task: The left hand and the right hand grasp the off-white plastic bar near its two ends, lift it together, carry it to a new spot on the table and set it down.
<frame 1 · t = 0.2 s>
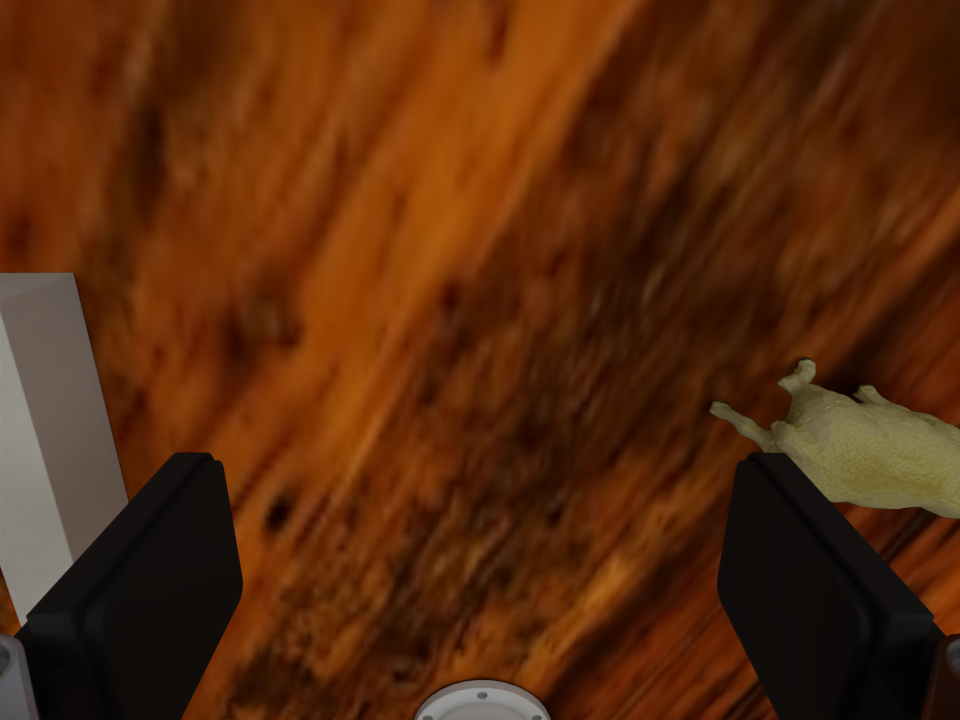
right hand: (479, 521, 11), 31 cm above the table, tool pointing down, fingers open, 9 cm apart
bar: (119, 589, 51), on the table
toy: (829, 409, 45), on the table
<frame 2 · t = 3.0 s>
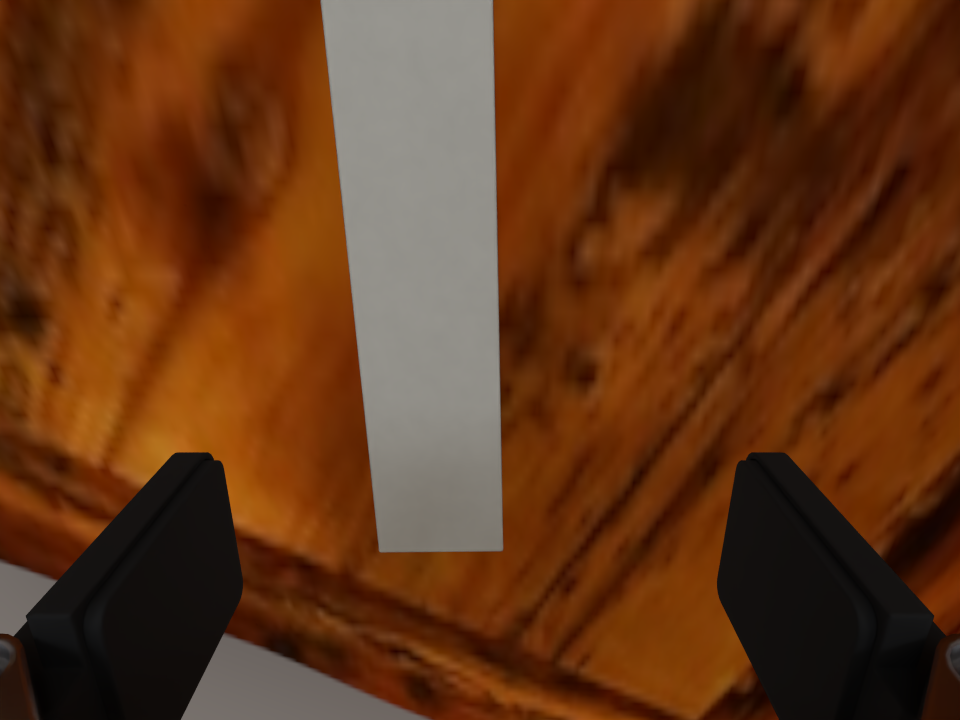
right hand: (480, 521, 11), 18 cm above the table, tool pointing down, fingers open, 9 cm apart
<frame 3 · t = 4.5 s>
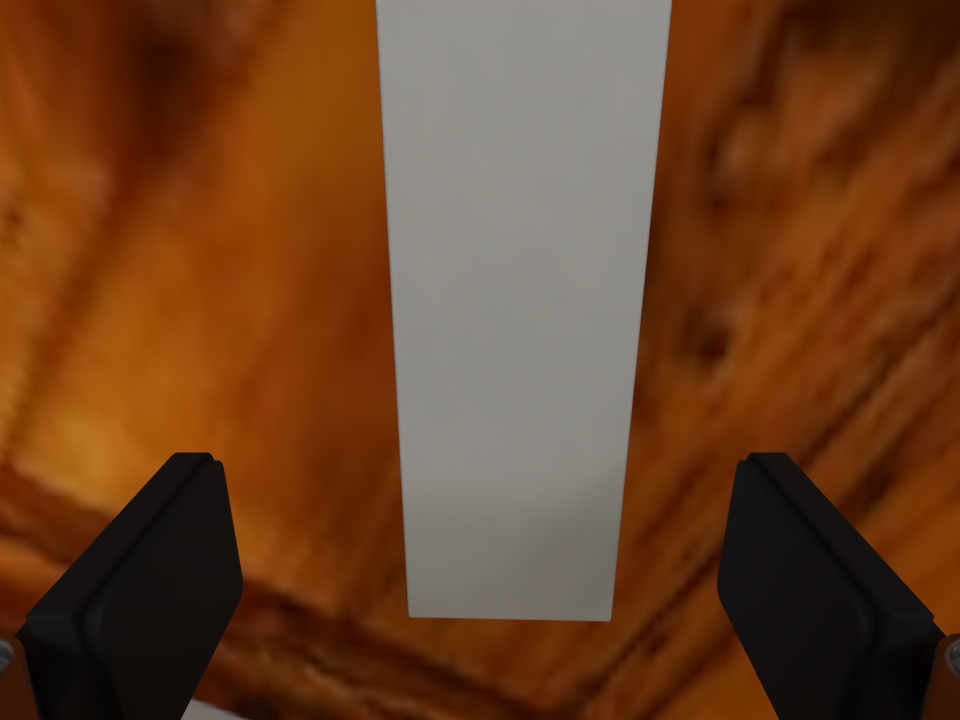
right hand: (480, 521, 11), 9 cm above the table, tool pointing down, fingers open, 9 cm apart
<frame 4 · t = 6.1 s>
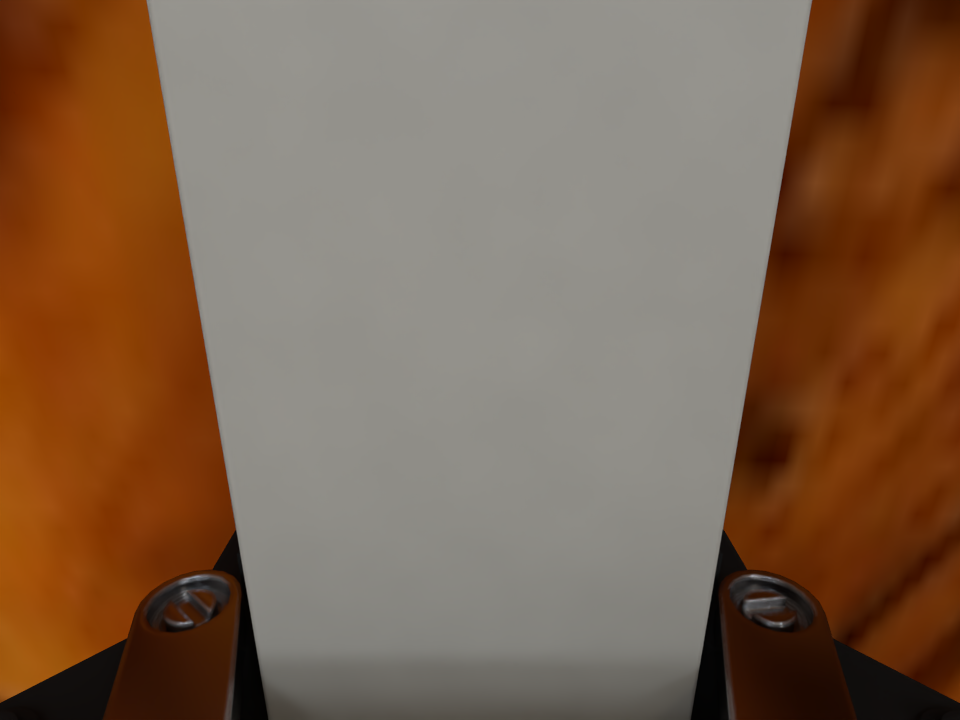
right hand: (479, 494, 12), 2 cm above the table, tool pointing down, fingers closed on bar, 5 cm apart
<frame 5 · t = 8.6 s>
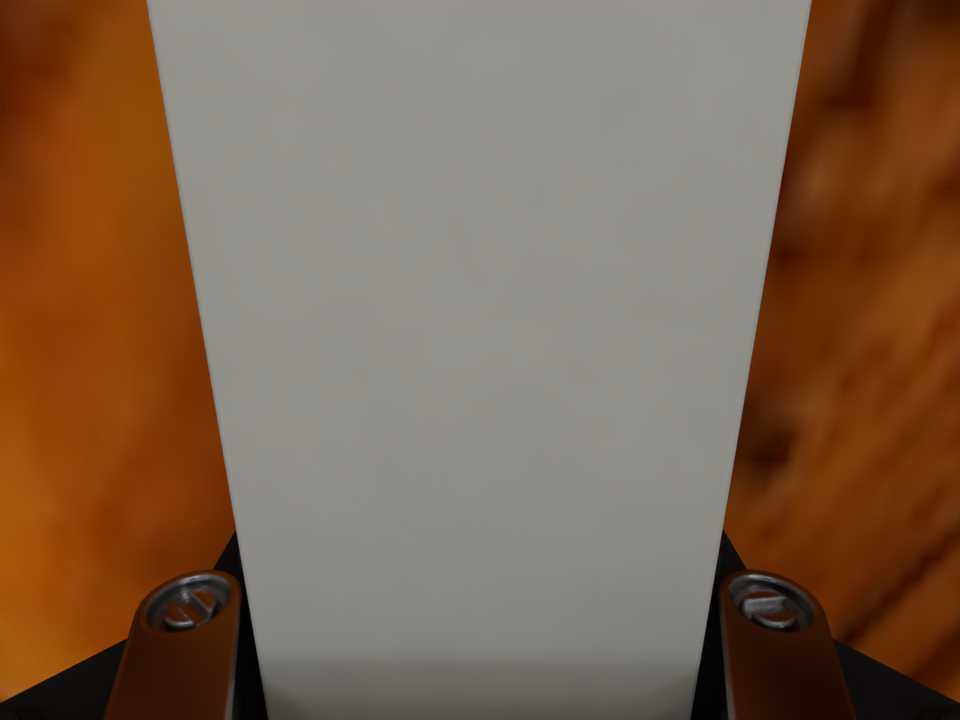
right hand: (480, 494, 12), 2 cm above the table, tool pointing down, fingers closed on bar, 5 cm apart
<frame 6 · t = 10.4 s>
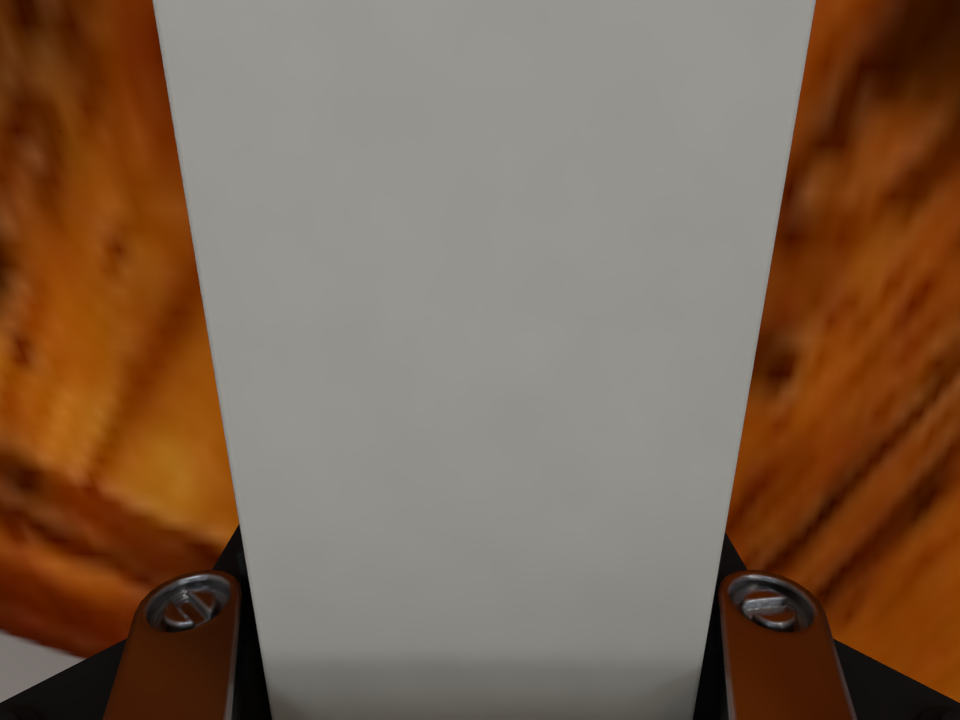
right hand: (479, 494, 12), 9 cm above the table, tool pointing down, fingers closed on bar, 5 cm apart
when the left hand's fingers open (3 cm above the table, at t = 12.4 s): bar drops 1 cm, on the table.
when the right hand's fingers open (3 cm above the table, at t = 12.4 s): bar drops 1 cm, on the table.
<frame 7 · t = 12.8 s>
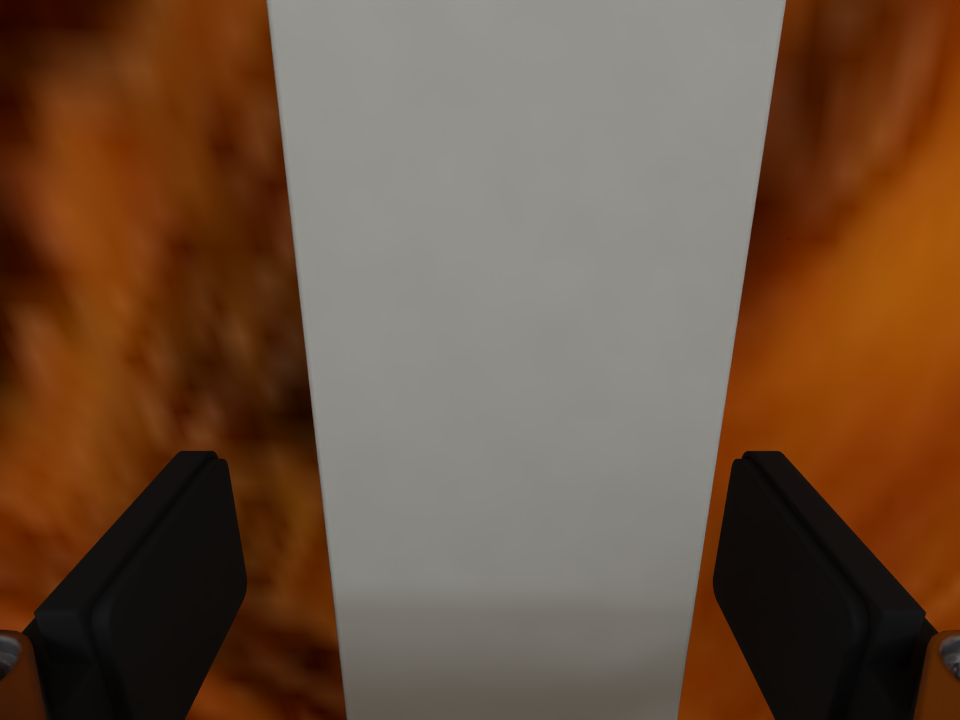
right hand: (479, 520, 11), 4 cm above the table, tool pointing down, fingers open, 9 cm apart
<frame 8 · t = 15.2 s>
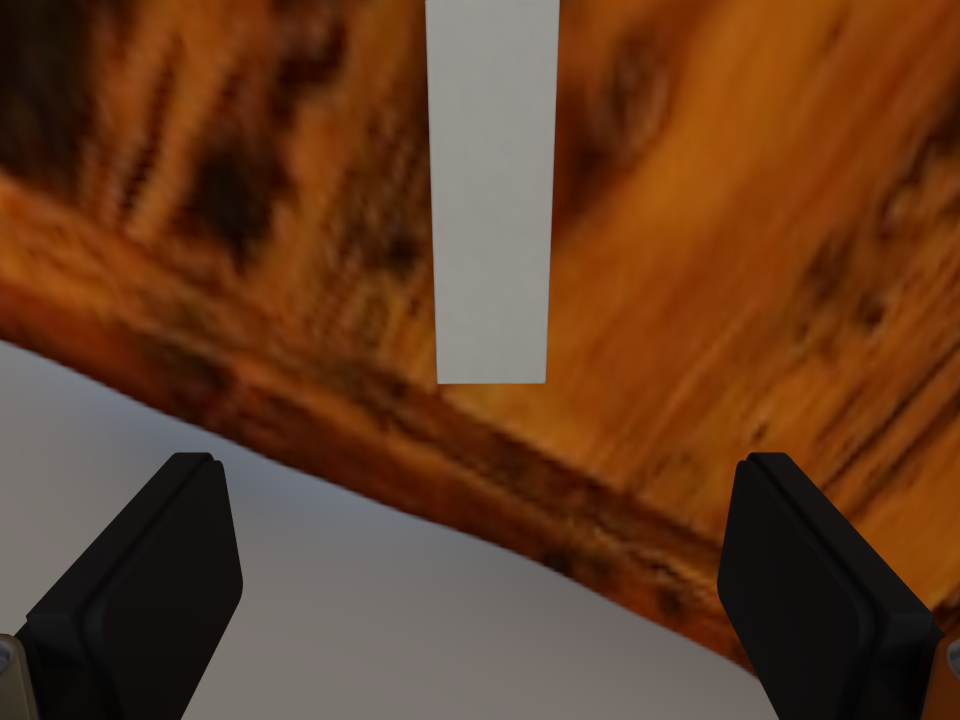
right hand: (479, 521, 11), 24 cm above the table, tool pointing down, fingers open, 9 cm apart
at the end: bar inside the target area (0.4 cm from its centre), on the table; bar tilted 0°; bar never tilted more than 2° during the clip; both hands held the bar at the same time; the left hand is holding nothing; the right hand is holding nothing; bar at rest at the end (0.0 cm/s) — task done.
